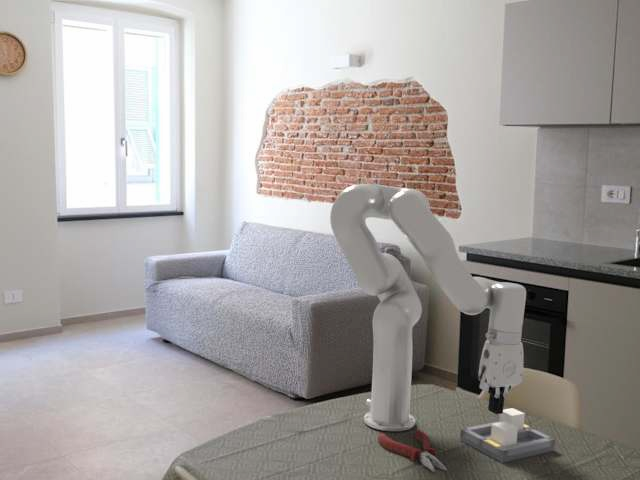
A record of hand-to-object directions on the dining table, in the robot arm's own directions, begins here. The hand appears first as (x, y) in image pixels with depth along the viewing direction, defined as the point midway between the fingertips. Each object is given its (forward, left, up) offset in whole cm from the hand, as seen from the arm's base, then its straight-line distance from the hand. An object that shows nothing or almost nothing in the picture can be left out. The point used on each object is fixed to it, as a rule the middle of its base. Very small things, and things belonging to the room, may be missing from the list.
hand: (495, 411), depth 174 cm
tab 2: (+7, -4, -5) cm, 9 cm away
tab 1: (+1, +5, -5) cm, 7 cm away
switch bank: (+4, +1, -7) cm, 8 cm away
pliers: (-2, -23, -8) cm, 24 cm away
